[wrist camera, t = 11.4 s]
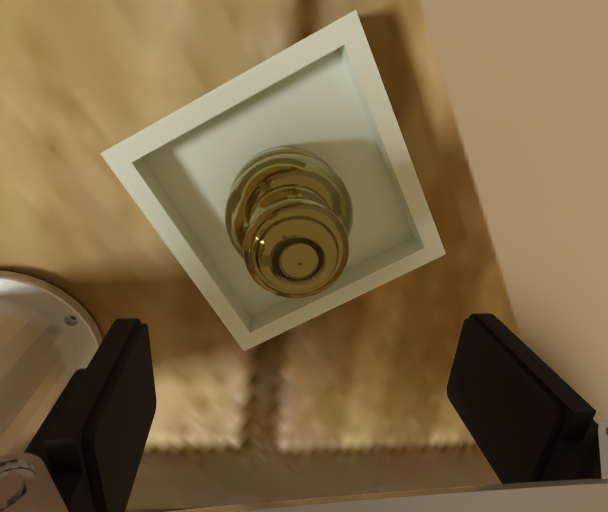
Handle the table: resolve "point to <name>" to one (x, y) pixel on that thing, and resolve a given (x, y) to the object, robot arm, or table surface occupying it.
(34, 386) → the robot arm
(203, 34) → the table surface
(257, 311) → the tray
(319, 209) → the brass door knob
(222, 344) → the table surface
